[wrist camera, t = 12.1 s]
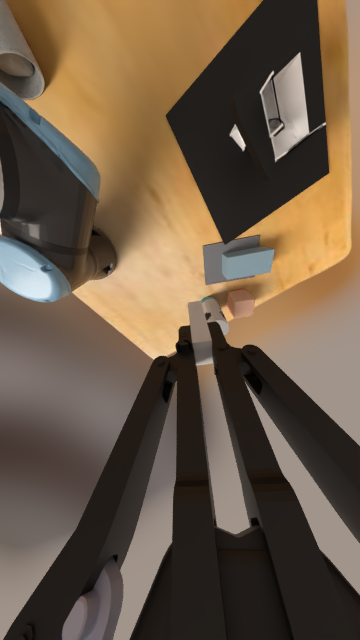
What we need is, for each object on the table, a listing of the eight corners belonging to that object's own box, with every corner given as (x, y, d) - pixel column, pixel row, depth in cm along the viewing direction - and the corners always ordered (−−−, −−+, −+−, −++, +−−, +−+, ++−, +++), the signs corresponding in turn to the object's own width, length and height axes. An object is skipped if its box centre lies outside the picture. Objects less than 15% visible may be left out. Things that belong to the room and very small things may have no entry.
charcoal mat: (205, 284, 48) (205, 285, 48) (202, 246, 42) (203, 246, 41) (253, 276, 47) (254, 276, 47) (259, 235, 40) (259, 235, 40)
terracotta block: (227, 306, 53) (234, 318, 47) (227, 291, 50) (234, 302, 43) (243, 303, 53) (252, 315, 46) (245, 288, 49) (255, 299, 43)
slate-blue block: (260, 266, 45) (222, 273, 46) (263, 245, 41) (222, 253, 43) (270, 272, 40) (227, 279, 41) (275, 249, 36) (227, 257, 38)
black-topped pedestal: (165, 116, 28) (156, 46, 17) (312, -57, 20) (477, -406, 9) (224, 245, 41) (241, 252, 30) (328, 173, 33) (404, 147, 22)
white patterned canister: (196, 309, 54) (202, 335, 42) (203, 294, 50) (211, 317, 38) (213, 314, 55) (222, 340, 43) (220, 299, 52) (233, 323, 39)
